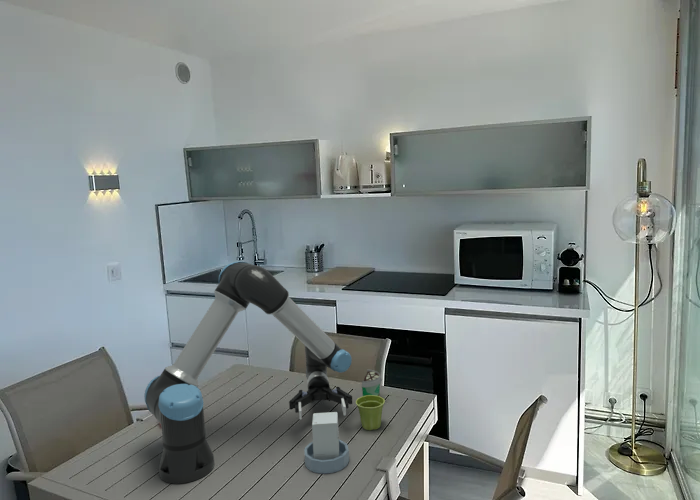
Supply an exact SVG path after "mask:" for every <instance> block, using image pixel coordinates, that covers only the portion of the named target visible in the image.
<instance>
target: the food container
mask: <svg viewBox="0 0 700 500" xmlns="http://www.w3.org/2000/svg"><path fill="white" fill-rule="evenodd" d="M366 371H367V372H366V374H365V376H364V377H363V378H364V379H363V380H361V388H362V389H361V391H362V396H367V395H375V396H380V390H381V387H380V386H381V383H382V380H383V379H382V376H381V374H380V372H378V371H377V370H373V369H368V368H367V369H366Z"/></svg>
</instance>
